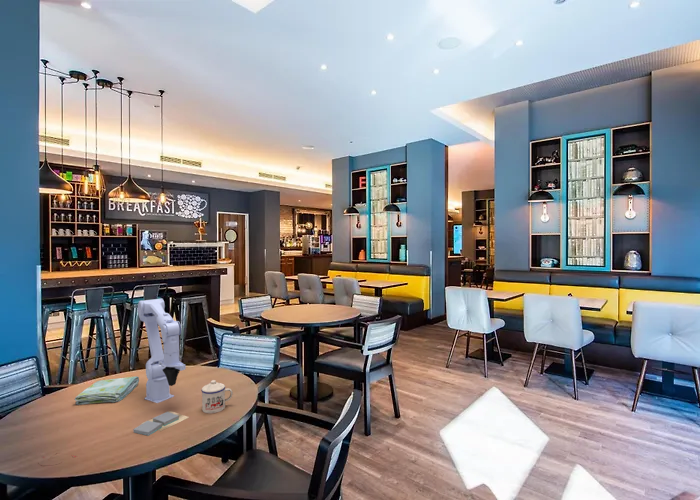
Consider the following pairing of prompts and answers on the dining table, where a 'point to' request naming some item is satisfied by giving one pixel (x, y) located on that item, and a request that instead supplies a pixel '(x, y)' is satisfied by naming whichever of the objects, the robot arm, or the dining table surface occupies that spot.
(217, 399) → the teacup with lid
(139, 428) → the tile
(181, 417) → the beige square board
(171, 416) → the tile
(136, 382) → the towel
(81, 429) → the dining table surface
